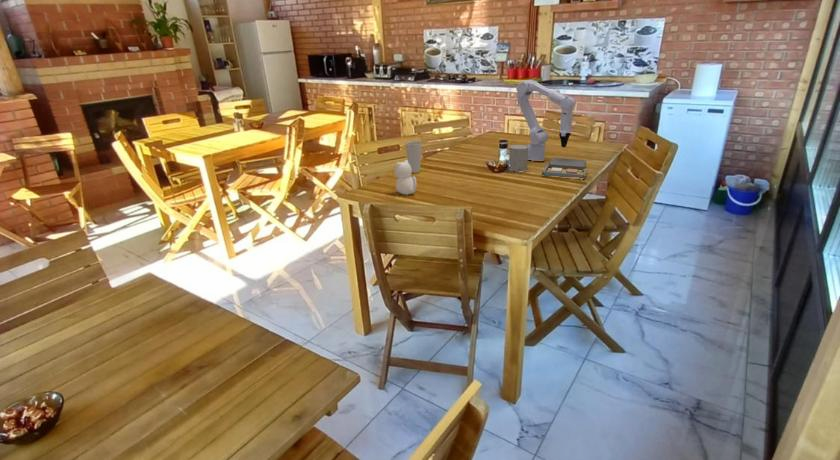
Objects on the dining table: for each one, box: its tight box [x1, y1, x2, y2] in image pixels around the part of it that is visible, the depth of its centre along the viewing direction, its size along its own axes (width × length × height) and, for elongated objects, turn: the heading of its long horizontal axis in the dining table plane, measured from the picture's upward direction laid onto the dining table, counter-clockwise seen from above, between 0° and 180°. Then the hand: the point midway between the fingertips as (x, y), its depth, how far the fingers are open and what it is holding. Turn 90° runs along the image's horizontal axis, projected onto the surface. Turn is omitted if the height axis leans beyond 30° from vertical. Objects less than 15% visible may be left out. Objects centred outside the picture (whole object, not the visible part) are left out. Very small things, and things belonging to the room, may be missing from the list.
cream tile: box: [551, 168, 563, 173], centre depth 227 cm, size 5×5×2 cm
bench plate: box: [548, 157, 587, 170], centre depth 237 cm, size 17×14×3 cm
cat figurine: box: [394, 159, 418, 196], centre depth 205 cm, size 9×12×15 cm
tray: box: [541, 164, 588, 178], centre depth 226 cm, size 20×13×2 cm, turn 66°
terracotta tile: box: [566, 169, 578, 174], centre depth 225 cm, size 5×5×2 cm
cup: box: [405, 140, 422, 174], centre depth 236 cm, size 8×8×16 cm
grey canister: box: [508, 144, 528, 173], centre depth 234 cm, size 10×10×12 cm
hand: (563, 147), depth 240 cm, fingers closed
